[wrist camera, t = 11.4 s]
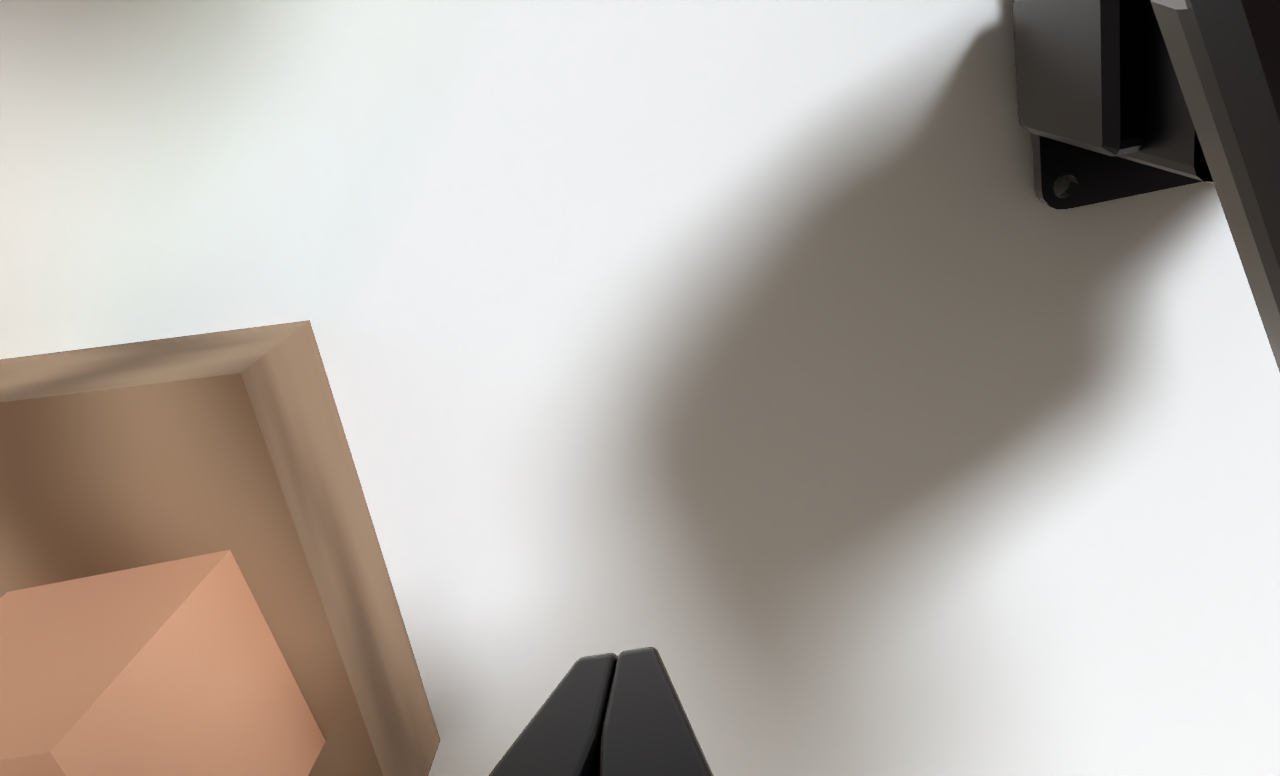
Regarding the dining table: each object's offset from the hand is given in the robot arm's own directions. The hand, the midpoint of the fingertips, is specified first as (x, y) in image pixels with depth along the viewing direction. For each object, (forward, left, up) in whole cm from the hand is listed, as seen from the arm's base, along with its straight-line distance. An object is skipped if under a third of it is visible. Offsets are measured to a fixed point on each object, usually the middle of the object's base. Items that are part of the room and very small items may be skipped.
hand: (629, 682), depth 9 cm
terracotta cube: (+14, +5, -9) cm, 17 cm away
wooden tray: (+14, +5, -13) cm, 20 cm away
